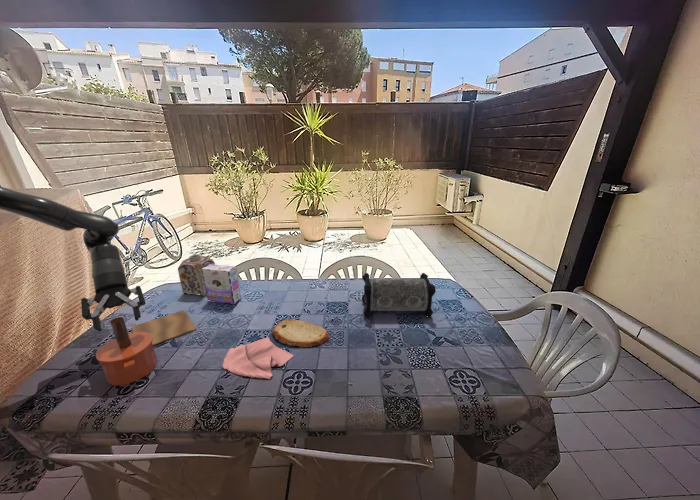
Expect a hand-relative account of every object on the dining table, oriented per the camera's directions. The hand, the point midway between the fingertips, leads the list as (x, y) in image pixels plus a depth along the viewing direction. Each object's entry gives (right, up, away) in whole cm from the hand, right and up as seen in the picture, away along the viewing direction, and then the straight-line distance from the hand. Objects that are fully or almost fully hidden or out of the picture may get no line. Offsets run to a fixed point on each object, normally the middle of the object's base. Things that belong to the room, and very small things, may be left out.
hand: (118, 325), depth 79 cm
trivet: (-4, -8, +25) cm, 26 cm away
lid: (0, -7, +2) cm, 8 cm away
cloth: (+38, -14, +9) cm, 42 cm away
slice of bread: (+49, -10, +22) cm, 55 cm away
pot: (0, -15, +5) cm, 16 cm away
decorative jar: (-6, +2, +55) cm, 55 cm away
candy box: (+10, -1, +45) cm, 47 cm away
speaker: (+88, -4, +38) cm, 96 cm away
